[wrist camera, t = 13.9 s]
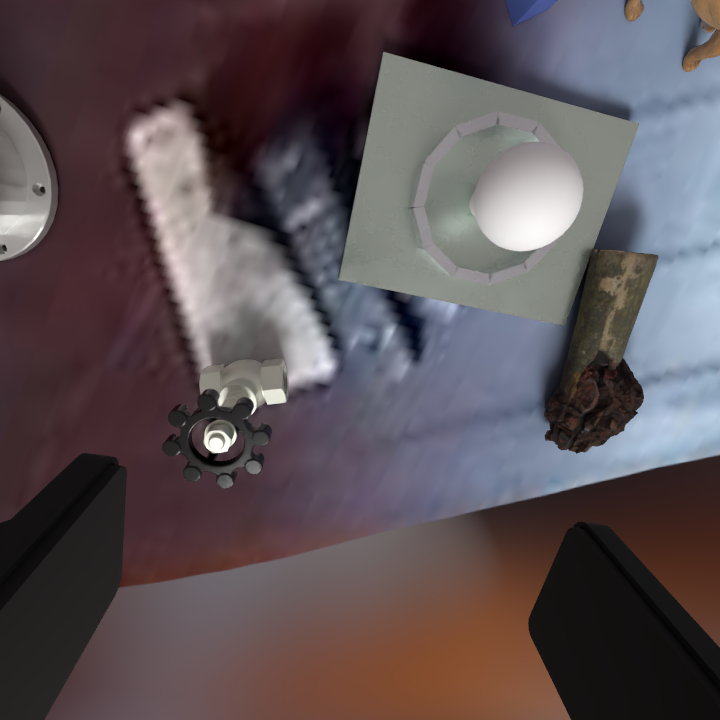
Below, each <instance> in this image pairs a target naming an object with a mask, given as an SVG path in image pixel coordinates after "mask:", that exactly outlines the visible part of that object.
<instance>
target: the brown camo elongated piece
mask: <svg viewBox="0 0 720 720" xmlns="http://www.w3.org/2000/svg"><path fill="white" fill-rule="evenodd" d="M657 260H658V255H654V254H644V253H635V252H626V251H617V250H598V249H593V250H592V253H591V257H590V261H589V266H588V270H587V275H586V279H585V284H584V290H583V294H582V298H581V301H580V305H579V311H578V316H577V321H576V324H575V328H574V332H573V336H572V339H571V344H570V348H569V352H568V356H567V360H566V364H565V368H564V371H563V375H562V379H561V383H560V385H559V386H558V388H557V390H556V391H555V392H554V394H553V395H552V396H551V397H550V399H549V400H548V402H547V403H546V406H545V408H546V410H545V415H544V416H545V417H546V419H547V420H548V421H549V422H550V429H551V430H549V431H547V433H546V435H545V440H546V441H547V440H549V441H554V442H555V444H556V445H558V448H559V449H561V450H567V449H569V451H574V452H576V454H577V453H580V452H587V451H588V450H589V449H590V448H591V447H592V446H600V445H603V444H604V443H605V442H606V441H607V440H608V439H609V438H610V437H611V436H614V435H618V434H619V433H620V432H622V431H624V427H625V425H626V423H628V422H629V421H630V420H631V419H632V418H633V417H634V416H635V415H636V414H637V413H638V412H636V411H635V410H637V409H638V408H639V407H640V406H641V405H642V403H643V399H644V395H643V390H642V387H641V385H640V384H639V383H638V381H637V380H636V379H635V378H634V375H633V372H632V371H631V370H630V368H629V366H628V365H627V363H626V362H625V360H624V359H623V355H624V352H625V349H626V346H627V343H628V340H629V337H630V334H631V332H632V329H633V326H634V324H635V321H636V318H637V316H638V313H639V310H640V307H641V305H642V302H643V299H644V296H645V294H646V291H647V288H648V286H649V283H650V280H651V278H652V275H653V272H654V270H655V267H656V263H657Z"/></svg>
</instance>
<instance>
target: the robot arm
mask: <svg viewBox="0 0 720 720" xmlns="http://www.w3.org/2000/svg"><path fill="white" fill-rule="evenodd" d="M44 188H45V192H44ZM57 205H58V184H57V177H56V171H55V168H54V165H53V162H52V159H51V156H50V153H49V151H48V149H47V147H46V145H45V143H44V141H43V139H42V137H41V136H40V134H39V133H38V131H37V130H36V129H35V127H34V126H33V125H32V123H31V122H30V120H29V119H28V118H27V117H26V116H25V115H24V114H23V113H22V112H21V111H20V110H19V109H18V108H17V107H16V106H15V105H14V104H13V103H12V102H10V101H9V100H8V99H6V98H5V97H4V96H2V95H1V94H0V261H2V260H8V259H12V258H15V257H17V256H20V255H22V254H24V253H26V252H28V251H29V250H30V249H32V248H33V247H35V246H36V245H37V244H38V243H39V242H40V241H41V240H42V239H43V237H44V236H45V235H46V234H47V232H48V230H49V228H50V226H51V225H52V223H53V221H54V217H55V213H56V209H57ZM126 478H127V470H126V467H124V466H118V460H117V458H115V457H110V456H103V455H96V454H89V453H83V454H81V455H79V456H78V457H77V458H76V459H75V460H74V461H73V462H72V463H70V464H69V465H68V466H67V467H66V468H65V469H64V470H63V471H62V472H61V473H60V474H59V475H58V476H57V477H56V478H55V479H53V480H52V481H51V482H50V483H49V484H48V485H47V486H46V487H45V488H44V489H43V490H42V491H41V492H40V493H39V494H38V495H36V496H35V497H34V498H33V499H32V500H31V501H30V502H29V503H28V504H27V505H26V506H25V507H24V508H23V509H22V510H20V511H19V512H18V513H17V514H16V515H15V516H14V517H13V518H12V519H11V520H8V521H5V522H2V523H0V720H44V719H45V718H46V716H47V714H48V712H49V711H50V709H51V707H52V705H53V704H54V702H55V700H56V698H57V696H58V695H59V693H60V691H61V689H62V688H63V686H64V684H65V682H66V681H67V679H68V677H69V676H70V674H71V672H72V670H73V668H74V666H75V665H76V663H77V662H78V660H79V658H80V656H81V654H82V653H83V651H84V649H85V647H86V645H87V644H88V642H89V640H90V639H91V637H92V635H93V633H94V631H95V630H96V628H97V626H98V625H99V623H100V621H101V619H102V618H103V616H104V614H105V612H106V611H107V609H108V607H109V605H110V603H111V602H112V600H113V598H114V596H115V594H116V592H117V590H118V587H119V584H120V581H121V575H122V557H123V538H124V518H125V498H126ZM528 624H529V632H530V635H531V638H532V640H533V642H534V644H535V646H536V648H537V650H538V652H539V654H540V656H541V659H542V661H543V663H544V665H545V667H546V669H547V671H548V673H549V675H550V677H551V679H552V681H553V683H554V685H555V687H556V689H557V692H558V693H559V695H560V698H561V700H562V702H563V704H564V706H565V708H566V710H567V712H568V714H569V716H570V718H571V720H720V647H718V645H717V644H716V643H715V642H714V641H713V640H712V639H711V638H710V637H709V635H708V634H707V633H706V632H705V631H704V630H703V629H702V628H701V627H700V626H699V624H698V623H697V622H696V621H695V620H694V619H693V618H692V617H691V616H690V615H689V614H688V612H687V611H686V610H685V609H684V608H683V607H682V606H681V605H680V604H679V603H678V602H677V600H676V599H675V598H674V597H673V596H672V595H671V594H670V593H669V592H668V591H667V590H666V588H665V587H664V586H663V585H662V584H661V583H660V582H659V581H658V580H657V578H656V577H655V576H654V575H653V574H652V573H651V572H650V571H649V570H648V569H647V568H646V566H644V564H643V563H642V562H641V561H640V560H639V559H638V558H637V557H636V556H635V555H634V554H633V552H632V551H631V550H630V549H629V548H628V547H627V546H626V545H625V544H624V542H623V541H622V540H621V539H620V538H619V537H618V536H617V535H616V534H615V533H614V531H613V530H612V529H610V528H609V527H608V526H606V525H602V524H594V523H587V522H578V523H576V524H575V525H574V526H573V528H570V529H568V531H567V532H566V534H565V537H564V539H563V541H562V543H561V546H560V548H559V551H558V553H557V555H556V557H555V560H554V562H553V564H552V566H551V569H550V571H549V573H548V576H547V578H546V580H545V582H544V585H543V587H542V589H541V592H540V594H539V596H538V598H537V601H536V603H535V605H534V608H533V610H532V612H531V615H530V617H529V623H528Z"/></svg>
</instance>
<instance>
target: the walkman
mask: <svg viewBox="0 0 720 720" xmlns="http://www.w3.org/2000/svg"><path fill="white" fill-rule="evenodd" d="M556 1H557V0H506V3H507V7H508V10H509V14H510V18H511V21H512V25H513V26H515V25H517V24H519V23H521V22H523V21H525V20H527V19H529V18H531V17H533V16H535V15H537V14H539V13H541V12H543V11H545V10H547V9H549V8H550V7H551V6H552V5H553V4H554V3H555V2H556Z"/></svg>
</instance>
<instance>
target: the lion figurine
mask: <svg viewBox="0 0 720 720" xmlns="http://www.w3.org/2000/svg"><path fill="white" fill-rule="evenodd" d="M691 4H692V6H693V8H694V10H695V12H696V13H697V15H698V16H699V17H700V18H701V19H702V21H701V23H700V27H701V29H702V30H703V31H704V32H706V33H710V32H713V31H714V30H715V29H716V31H715V32H714V33H713V35H712V36H711V38H710V39H709V40H708V41H707V42H705V43H704V44H702V45H700V46H696V47H693V48H692V49H691V50H690V51H689V53H688V54H687V55H686V56H685V57H684V59H683V70H684V71H685V72H688V71H692V70H694V69H695V68H697V67H698V66H699V63H700V61H701V60H703V59H706V58H712V57H716V56H719V55H720V0H691ZM643 10H644V5H643V3H642V2H641V0H628V2H627V4H626V8H625V16H626V18H627V20H628V21H634V20H636V19H637V18H638V17H639V16H640V15H641V13H642V12H643Z"/></svg>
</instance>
